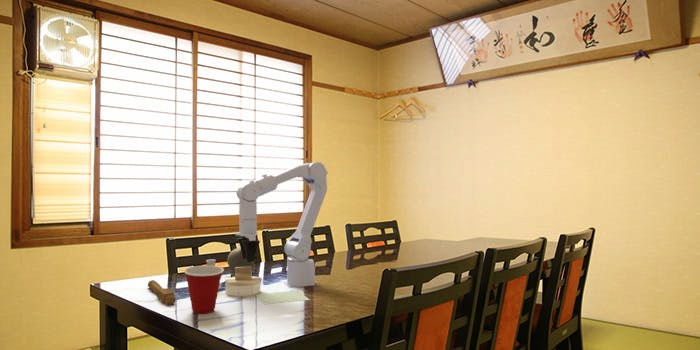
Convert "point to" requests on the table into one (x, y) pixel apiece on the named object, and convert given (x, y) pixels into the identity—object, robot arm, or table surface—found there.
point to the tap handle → (162, 293)
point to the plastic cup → (203, 287)
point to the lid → (243, 277)
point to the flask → (212, 263)
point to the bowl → (242, 290)
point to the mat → (281, 297)
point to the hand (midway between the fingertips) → (248, 260)
